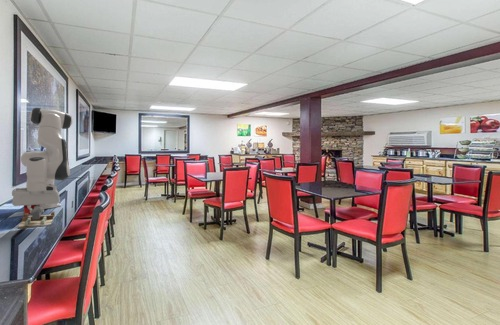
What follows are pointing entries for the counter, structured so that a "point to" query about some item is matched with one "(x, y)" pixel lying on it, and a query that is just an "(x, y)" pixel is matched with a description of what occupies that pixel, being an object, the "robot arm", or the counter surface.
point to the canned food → (28, 209)
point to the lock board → (36, 221)
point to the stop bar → (36, 212)
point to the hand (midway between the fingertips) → (37, 212)
